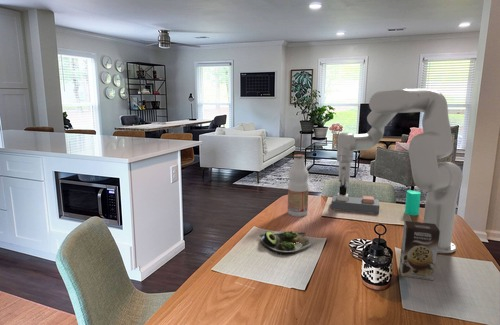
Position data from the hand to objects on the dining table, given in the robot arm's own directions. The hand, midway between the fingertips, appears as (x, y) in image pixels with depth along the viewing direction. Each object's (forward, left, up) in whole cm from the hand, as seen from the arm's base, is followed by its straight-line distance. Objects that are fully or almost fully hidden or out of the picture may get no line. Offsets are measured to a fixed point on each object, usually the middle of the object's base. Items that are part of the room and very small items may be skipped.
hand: (342, 194), depth 166 cm
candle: (+18, -26, -7) cm, 33 cm away
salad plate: (-53, -13, -7) cm, 55 cm away
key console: (+3, -5, -6) cm, 9 cm away
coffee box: (-35, -54, -7) cm, 65 cm away
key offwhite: (0, 0, -4) cm, 4 cm away
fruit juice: (-25, +7, -7) cm, 26 cm away
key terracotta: (+7, -10, -4) cm, 13 cm away
